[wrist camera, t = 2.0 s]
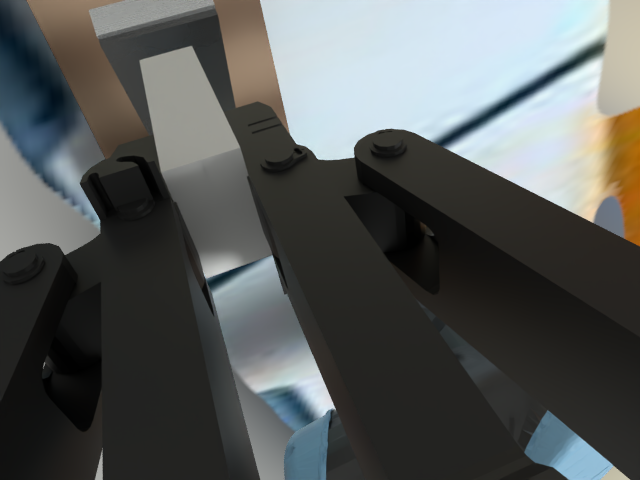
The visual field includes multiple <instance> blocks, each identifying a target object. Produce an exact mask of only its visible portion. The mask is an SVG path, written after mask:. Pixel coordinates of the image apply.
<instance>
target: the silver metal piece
mask: <svg viewBox="0 0 640 480" xmlns="http://www.w3.org/2000/svg"><path fill="white" fill-rule="evenodd" d="M89 13H90V16H91V19H92V23H93V26H94V29H95V32H96V36H97V38H98V39H99V43H100V46H101V48H102V50H103V52H104V53H105V55H106V57H107V59H108V61H109V63H110V64H111V66H112V68H113V70H114V72H115V74H116V75H117V77H118V79H119V81H120V83H121V85H122V86H123V88H124V90H125V92H126V94H127V96H128V97H129V99H130V101H131V103H132V105H133V107H134V108H135V110H136V112H137V114H138V116H139V118H140V119H141V121H142V123H143V125H144V127H145V129H146V130H147V132H148V134H149V136H150V135H154V133H153V128H152V123H151V118H150V113H149V107H148V102H147V97H146V92H145V87H144V82H143V76H142V71H141V66H140V61H139V60H142V59H146V58H149V57H153V56H156V55H160V54H164V53H167V52H171V51H174V50H178V49H182V48H185V47H189V46H192V47H193V49H194V52H195V54H196V56H197V58H198V60H199V62H200V64H201V66H202V68H203V70H204V73H205V75H206V77H207V79H208V81H209V83H210V85H211V87H212V89H213V91H214V94H215V96H216V98H217V100H218V102H219V104H220V106H221V108H222V110H223V112H224V111H227V110H231V109H234V108H236V106H235V101H234V96H233V90H232V85H231V80H230V75H229V70H228V65H227V59H226V54H225V49H224V44H223V39H222V33H221V28H220V23H219V18H218V14H217V11H216V9H215V4H214V2H213V0H125V1H121V2H117V3H113V4H109V5H105V6H101V7H98V8H94V9H90V10H89Z"/></svg>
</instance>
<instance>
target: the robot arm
mask: <svg viewBox="0 0 640 480" xmlns="http://www.w3.org/2000/svg"><path fill="white" fill-rule="evenodd" d="M139 61H140V66H141V71H142V76H143V82H144V87H145V92H146V97H147V102H148V107H149V113H150V118H151V123H152V128H153V133H154V135H150V136H147V137H144V138H140V139H137V140H134V141H130V142H127V143H124V144H120V145H118V146H117V148H116V149H115V151H114V152H113V154H112V155H111V157H110V158H108V159H105V160H103V161H101V162H100V163H98V164H96V165H95V166H93V167H91V168H90V169H89V170H88V171H87V172H86V173H85V174H84V175H83V177H82V179H81V182H80V185H81V187H82V189H83V190H84V192H85V194H86V196H87V197H88V199H89V201H90V203H91V205H92V206H93V208H94V210H95V212H96V213H97V215H98V217H99V219H100V231H101V233H100V234H99V235H98V236H97V237H96V238H94V239H93V240H92V241H90V242H88V243H87V244H85V245H84V246H82V247H80V248H78V249H76V250H74V251H72V252H70V253H69V254H67V255H64V253H63V252H62V250H61V249H60V247H59V246H56V245H53V244H50V243H46V244H36V245H32V246H29V247H24V248H21V249H19V250H16V252H13V253H11V254H9V255H7V256H6V257H5V258H4V259H3V260H2V261H0V480H95V476H96V472H97V468H98V464H99V460H100V456H101V452H102V447H103V480H260V477H259V473H258V470H257V466H256V462H255V458H254V454H253V450H252V447H251V443H250V439H249V435H248V431H247V428H246V424H245V420H244V416H243V412H242V408H241V404H240V400H239V396H238V393H237V389H236V385H235V381H234V377H233V373H232V370H231V366H230V362H229V358H228V354H227V350H226V346H225V343H224V339H223V335H222V331H221V327H220V323H219V319H218V316H217V312H216V308H215V304H214V300H213V296H212V293H211V291H210V288H209V286H208V284H207V281H206V279H205V277H204V273H205V276H206V278H208V277H211V276H214V275H217V274H220V273H223V272H225V271H228V270H231V269H234V268H237V267H240V266H242V265H245V264H248V263H251V262H254V261H257V260H260V259H262V258H265V257H268V256H271V255H272V254H273V258H274V261H275V264H276V268H277V271H278V274H279V278H280V281H281V284H282V288H283V291H284V294H288V297H289V299H290V301H291V304H292V306H293V309H294V311H295V313H296V316H297V318H298V321H299V323H300V325H301V328H302V330H303V332H304V335H305V337H306V340H307V342H308V344H309V347H310V349H311V351H312V354H313V356H314V359H315V361H316V363H317V366H318V368H319V370H320V373H321V375H322V378H323V380H324V382H325V385H326V387H327V389H328V392H329V394H330V397H331V399H332V401H333V404H334V406H335V408H336V410H335V409H330V410H328V411H327V413H326V415H324V416H323V417H321V418H319V419H317V420H316V421H314V422H312V423H310V424H309V425H307V426H305V427H303V428H302V429H300V430H298V431H297V432H296V433H295V434H294V435H293V436H292V437H291V438H290V440H289V442H288V444H287V447H286V450H285V455H284V476H285V480H600V479H601V478H602V477H603V476H604V475H605V474H606V473H607V472H608V471H609V470H610V469H611V468H612V467H613V466H615V467H616V468H617V469H618V470H620V471H621V472H622V473H623V474H624V475H625V476H627V477H628V478H629V479H630V480H640V246H638V245H636V244H634V243H632V242H630V241H628V240H626V239H624V238H622V237H620V236H618V235H616V234H614V233H612V232H610V231H608V230H606V229H604V228H602V227H600V226H598V225H596V224H594V223H592V222H590V221H588V220H586V219H584V218H582V217H580V216H578V215H576V214H574V213H572V212H570V211H568V210H566V209H564V208H562V207H560V206H558V205H556V204H554V203H552V202H550V201H548V200H546V199H544V198H542V197H540V196H538V195H536V194H534V193H532V192H530V191H528V190H526V189H524V188H522V187H520V186H518V185H516V184H515V183H513V182H511V181H509V180H507V179H505V178H503V177H501V176H499V175H497V174H495V173H493V172H491V171H489V170H487V169H485V168H483V167H481V166H479V165H477V164H475V163H473V162H471V161H469V160H467V159H465V158H463V157H461V156H459V155H457V154H455V153H453V152H451V151H449V150H447V149H445V148H443V147H441V146H439V145H437V144H435V143H433V142H431V141H429V140H427V139H425V138H423V137H421V136H419V135H417V134H415V133H412V132H409V131H406V130H397V129H385V130H379V131H376V132H374V133H371V134H369V135H366V136H365V137H363V138H362V139H360V140H359V141H358V142H357V144H356V145H355V147H354V155H355V158H348V159H341V160H318V159H317V158H316V156H315V155H314V154H313V152H312V151H311V150H309V149H308V148H307V147H305V146H301V145H297V144H296V143H295V142H294V140H293V139H292V137H291V136H290V134H289V133H288V131H287V130H286V128H285V127H284V125H282V122H281V121H280V119H279V118H278V117H277V115H276V113H275V112H274V110H273V109H272V107H270V106H268V105H266V104H263V103H261V102H258V101H257V102H254V103H251V104H247V105H244V106H241V107H237V108H234V109H231V110H227V111H224V112H223V110H222V108H221V106H220V104H219V102H218V100H217V98H216V96H215V94H214V91H213V89H212V87H211V85H210V83H209V81H208V79H207V77H206V75H205V73H204V70H203V68H202V66H201V64H200V62H199V60H198V58H197V56H196V54H195V52H194V49H193V47H192V46H189V47H185V48H182V49H178V50H174V51H171V52H167V53H164V54H160V55H156V56H153V57H149V58H146V59H142V60H139ZM271 251H272V252H271ZM203 271H204V273H203ZM44 362H45V366H44V368H43V365H44Z"/></svg>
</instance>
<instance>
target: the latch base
mask: <svg viewBox="0 0 640 480" xmlns="http://www.w3.org/2000/svg"><path fill="white" fill-rule="evenodd" d="M121 1H125V0H27V2H28V4H29V6H30V8H31V10H32V12H33V14H34V16H35V18H36V20H37V22H38V24H39V26H40V28H41V30H42V32H43V34H44V36H45V38H46V40H47V42H48V44H49V46H50V48H51V50H52V52H53V54H54V56H55V58H56V60H57V62H58V64H59V66H60V68H61V70H62V72H63V74H64V76H65V78H66V80H67V82H68V84H69V86H70V88H71V90H72V92H73V94H74V96H75V98H76V100H77V102H78V104H79V106H80V108H81V110H82V112H83V114H84V116H85V118H86V120H87V122H88V124H89V126H90V128H91V130H92V132H93V134H94V136H95V138H96V140H97V142H98V144H99V146H100V148H101V150H102V152H103V154H104V156H105V158H106V159H108V158H110V157H111V155H112V154H113V152H114V151H115V149H116V148H117V146H118V145H120V144H124V143H127V142H130V141H134V140H137V139H140V138H144V137H147V136H149V134H148V132H147V130H146V129H145V127H144V125H143V123H142V121H141V119H140V118H139V116H138V114H137V112H136V110H135V108H134V107H133V105H132V103H131V101H130V99H129V97H128V96H127V94H126V92H125V90H124V88H123V86H122V85H121V83H120V81H119V79H118V77H117V75H116V74H115V72H114V70H113V68H112V66H111V64H110V63H109V61H108V59H107V57H106V55H105V53H104V52H103V50H102V48H101V46H100V43H99V39H98V38H97V36H96V32H95V29H94V26H93V23H92V19H91V16H90V13H89V10H90V9H94V8H98V7H101V6H105V5H109V4H113V3H117V2H121ZM213 2H214V4H215V9H216V11H217V14H218V18H219V23H220V28H221V33H222V39H223V44H224V49H225V54H226V59H227V65H228V70H229V75H230V80H231V85H232V90H233V96H234V101H235V106H236V108H237V107H241V106H244V105H247V104H251V103H254V102H257V101H258V102H261V103H263V104H266V105H268V106H270V107H272V109H273V110H274V112H275V113H276V115H277V117H278V118H279V119H280V121H281V122H282V125H284V127H285V128H286V130H287V131H288V133H289V129H288V124H287V120H286V115H285V111H284V106H283V102H282V98H281V93H280V89H279V84H278V80H277V75H276V71H275V66H274V62H273V57H272V53H271V49H270V44H269V40H268V35H267V31H266V26H265V22H264V17H263V13H262V8H261V4H260V0H213ZM289 134H290V133H289Z"/></svg>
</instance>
